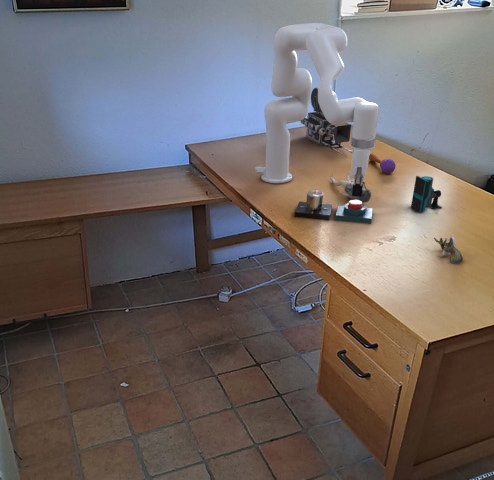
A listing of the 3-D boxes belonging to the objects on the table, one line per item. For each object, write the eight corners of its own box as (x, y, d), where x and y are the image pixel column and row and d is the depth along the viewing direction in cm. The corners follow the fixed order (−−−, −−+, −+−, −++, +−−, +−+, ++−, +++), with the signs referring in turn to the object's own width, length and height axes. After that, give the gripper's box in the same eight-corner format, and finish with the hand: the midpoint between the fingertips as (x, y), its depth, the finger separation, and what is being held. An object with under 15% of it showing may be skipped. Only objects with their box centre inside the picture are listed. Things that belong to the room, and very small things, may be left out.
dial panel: (294, 217, 195) (294, 211, 194) (298, 206, 203) (299, 200, 202) (329, 220, 192) (329, 214, 191) (332, 209, 200) (332, 203, 199)
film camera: (295, 134, 282) (298, 86, 270) (316, 132, 285) (320, 84, 272) (333, 158, 249) (338, 103, 237) (356, 155, 252) (363, 101, 240)
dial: (320, 211, 194) (322, 196, 191) (304, 210, 195) (305, 194, 192) (323, 205, 198) (324, 190, 195) (307, 204, 200) (308, 189, 197)
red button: (347, 209, 191) (348, 203, 190) (348, 204, 195) (349, 199, 194) (361, 210, 190) (361, 205, 189) (361, 205, 193) (362, 200, 192)
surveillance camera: (450, 176, 192) (425, 180, 189) (443, 208, 198) (419, 213, 195) (439, 171, 196) (415, 175, 194) (433, 203, 203) (409, 207, 200)
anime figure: (351, 168, 223) (380, 185, 195) (350, 186, 226) (378, 206, 198) (328, 170, 222) (354, 187, 195) (327, 188, 225) (352, 207, 198)
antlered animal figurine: (426, 248, 170) (443, 257, 161) (439, 228, 168) (457, 236, 160) (443, 259, 172) (461, 268, 164) (457, 239, 171) (475, 247, 162)
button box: (335, 220, 192) (336, 209, 190) (337, 210, 199) (338, 200, 197) (370, 224, 189) (372, 213, 187) (372, 213, 196) (373, 203, 194)
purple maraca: (380, 150, 244) (399, 161, 226) (376, 164, 246) (395, 176, 228) (367, 149, 243) (386, 160, 225) (364, 162, 245) (382, 174, 228)
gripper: (352, 135, 187) (347, 187, 197) (349, 148, 175) (343, 202, 185) (375, 136, 185) (369, 188, 195) (373, 149, 173) (366, 204, 183)
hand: (356, 195), depth 190 cm, fingers closed
